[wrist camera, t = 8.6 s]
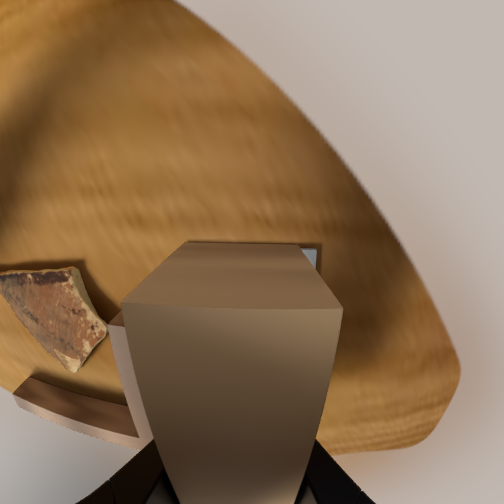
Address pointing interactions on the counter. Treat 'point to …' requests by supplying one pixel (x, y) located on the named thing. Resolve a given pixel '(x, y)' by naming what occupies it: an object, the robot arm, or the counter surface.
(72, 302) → the shard
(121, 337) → the corner fence
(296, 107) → the counter surface
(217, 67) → the counter surface
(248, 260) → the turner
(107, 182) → the counter surface
